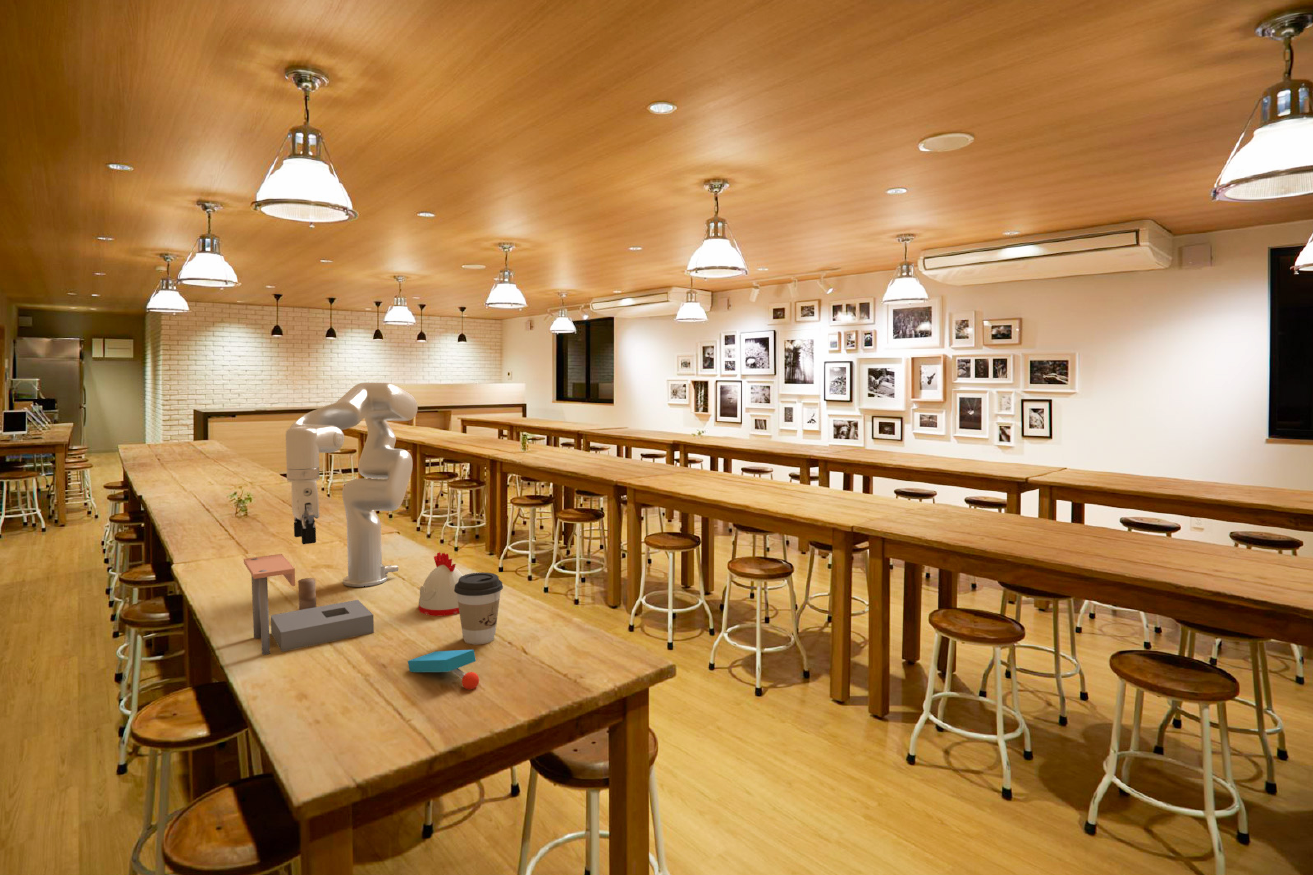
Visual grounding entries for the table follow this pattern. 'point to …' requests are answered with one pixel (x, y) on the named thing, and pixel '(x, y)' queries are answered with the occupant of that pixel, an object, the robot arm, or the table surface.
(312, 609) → the socket block
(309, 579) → the walnut peg
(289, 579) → the pink topped stand
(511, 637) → the table surface
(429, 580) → the kitchen timer
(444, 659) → the lever
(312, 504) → the robot arm
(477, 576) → the coffee cup
